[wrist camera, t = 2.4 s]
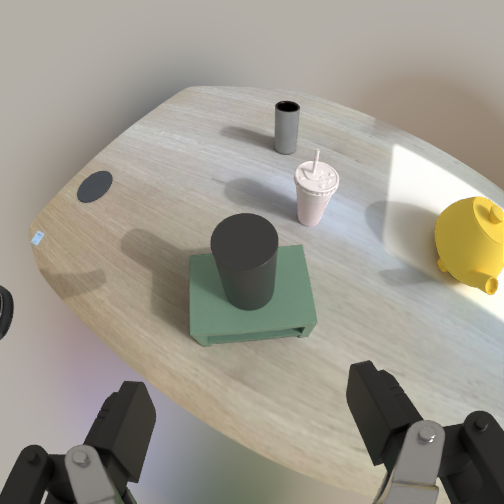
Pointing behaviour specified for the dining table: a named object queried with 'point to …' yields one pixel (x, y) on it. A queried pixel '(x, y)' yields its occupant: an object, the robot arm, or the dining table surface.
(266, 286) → the dark grey cylinder
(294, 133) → the planter
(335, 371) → the dining table surface
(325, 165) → the smoothie
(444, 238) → the teapot
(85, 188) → the coaster
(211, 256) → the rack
